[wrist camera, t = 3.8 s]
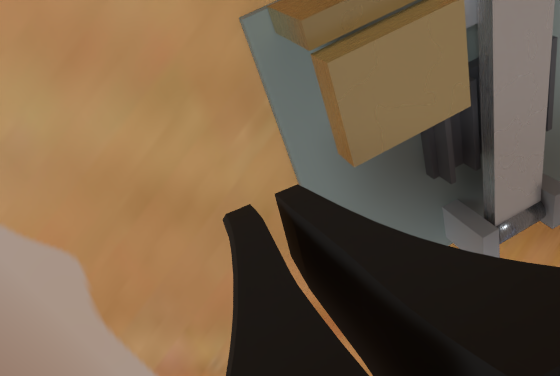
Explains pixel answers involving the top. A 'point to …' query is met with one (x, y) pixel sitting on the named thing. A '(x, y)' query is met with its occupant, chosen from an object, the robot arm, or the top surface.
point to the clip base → (399, 146)
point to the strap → (513, 108)
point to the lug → (381, 66)
